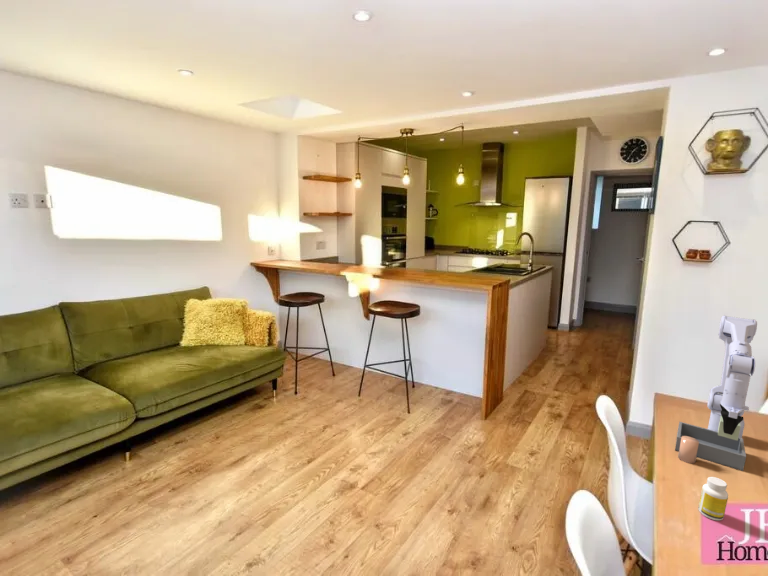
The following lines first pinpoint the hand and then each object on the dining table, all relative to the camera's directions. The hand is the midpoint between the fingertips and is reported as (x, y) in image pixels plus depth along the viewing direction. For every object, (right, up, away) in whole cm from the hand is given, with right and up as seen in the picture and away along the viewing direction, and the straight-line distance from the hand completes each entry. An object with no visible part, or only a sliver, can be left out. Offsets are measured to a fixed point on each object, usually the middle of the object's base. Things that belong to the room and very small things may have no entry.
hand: (727, 430), depth 135 cm
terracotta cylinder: (-14, -9, -1) cm, 17 cm away
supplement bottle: (-26, -14, -25) cm, 39 cm away
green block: (0, -2, 0) cm, 2 cm away
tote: (-3, -9, +4) cm, 10 cm away
